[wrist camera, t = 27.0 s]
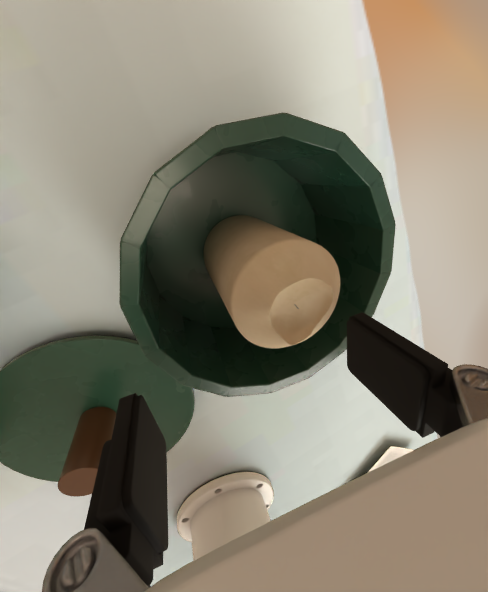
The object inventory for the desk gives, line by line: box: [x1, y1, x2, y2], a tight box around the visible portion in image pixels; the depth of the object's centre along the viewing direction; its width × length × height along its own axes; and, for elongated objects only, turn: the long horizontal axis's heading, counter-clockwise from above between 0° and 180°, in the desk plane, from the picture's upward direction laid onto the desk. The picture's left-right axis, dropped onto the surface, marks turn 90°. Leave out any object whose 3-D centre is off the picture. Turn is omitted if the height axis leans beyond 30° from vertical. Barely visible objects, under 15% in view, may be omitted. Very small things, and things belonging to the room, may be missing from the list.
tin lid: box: [0, 335, 194, 496], centre depth 19 cm, size 16×16×6 cm
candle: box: [204, 215, 340, 348], centre depth 15 cm, size 6×6×10 cm
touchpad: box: [368, 446, 413, 472], centre depth 41 cm, size 8×15×2 cm, turn 149°
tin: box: [120, 113, 395, 397], centre depth 16 cm, size 15×15×8 cm
